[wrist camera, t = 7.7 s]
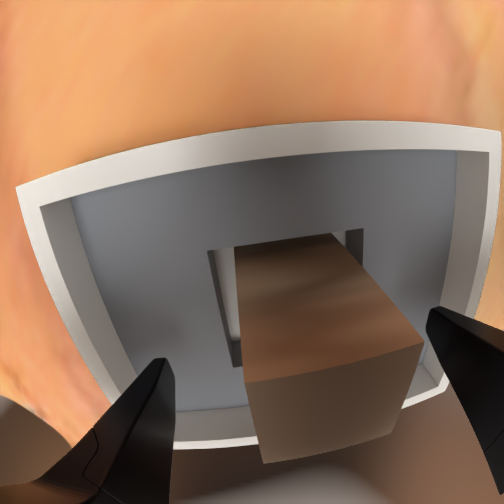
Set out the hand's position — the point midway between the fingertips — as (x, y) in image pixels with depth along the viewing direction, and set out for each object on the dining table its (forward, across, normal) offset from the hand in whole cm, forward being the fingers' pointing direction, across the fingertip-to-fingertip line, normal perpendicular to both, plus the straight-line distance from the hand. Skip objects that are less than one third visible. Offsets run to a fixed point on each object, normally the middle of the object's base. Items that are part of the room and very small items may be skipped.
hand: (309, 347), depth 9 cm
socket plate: (+5, 0, 0) cm, 5 cm away
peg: (+4, 0, 0) cm, 4 cm away
